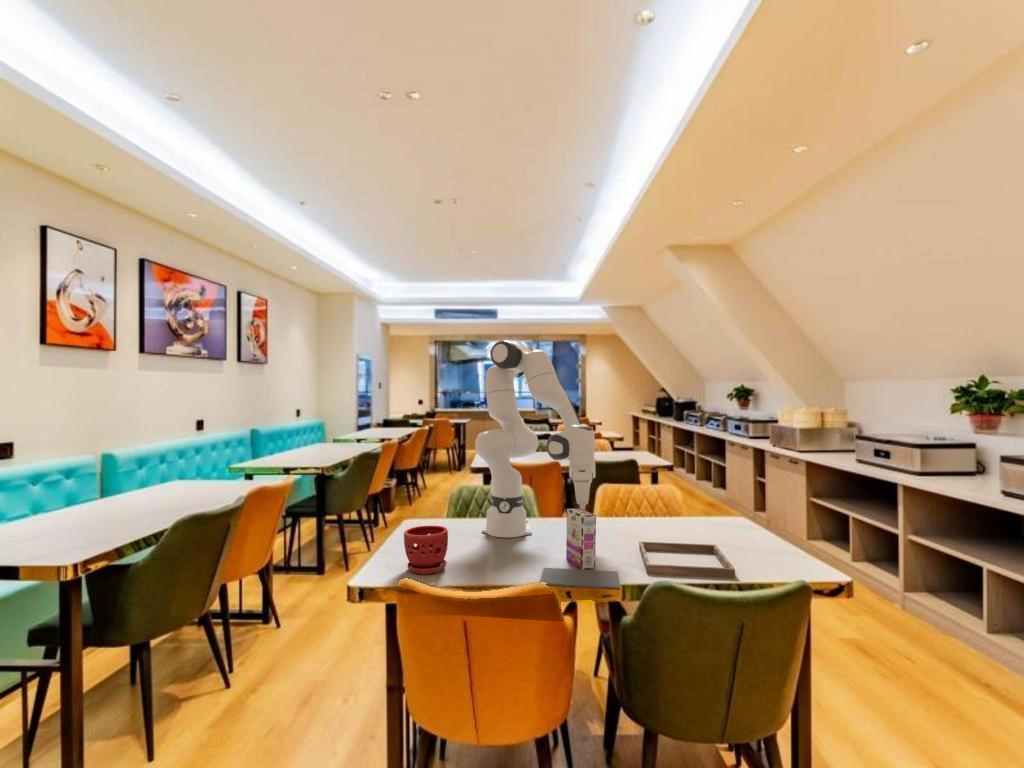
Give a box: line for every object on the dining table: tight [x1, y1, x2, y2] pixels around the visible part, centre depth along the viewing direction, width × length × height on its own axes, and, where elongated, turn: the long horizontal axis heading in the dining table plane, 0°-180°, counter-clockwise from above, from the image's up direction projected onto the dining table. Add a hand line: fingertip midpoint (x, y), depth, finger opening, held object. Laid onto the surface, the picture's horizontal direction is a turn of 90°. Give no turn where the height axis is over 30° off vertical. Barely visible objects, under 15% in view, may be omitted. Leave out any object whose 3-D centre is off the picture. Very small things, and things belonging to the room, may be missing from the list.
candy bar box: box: [565, 507, 597, 570], centre depth 173 cm, size 11×5×16 cm, turn 20°
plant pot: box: [403, 525, 449, 575], centre depth 167 cm, size 13×13×12 cm
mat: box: [539, 567, 621, 590], centre depth 160 cm, size 13×22×1 cm, turn 82°
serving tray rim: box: [638, 541, 736, 579], centre depth 175 cm, size 25×25×2 cm
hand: (582, 512), depth 189 cm, fingers closed
